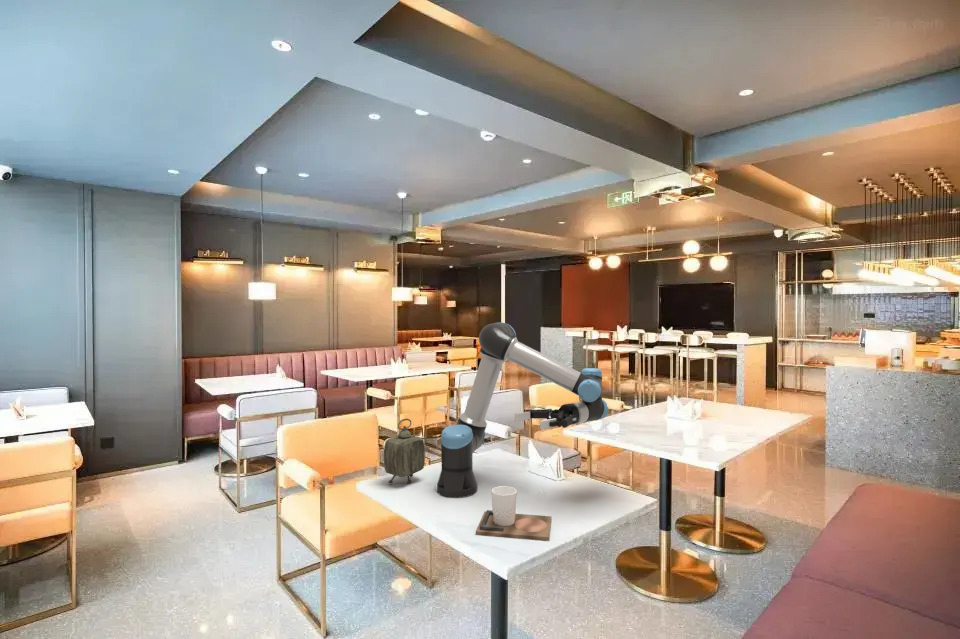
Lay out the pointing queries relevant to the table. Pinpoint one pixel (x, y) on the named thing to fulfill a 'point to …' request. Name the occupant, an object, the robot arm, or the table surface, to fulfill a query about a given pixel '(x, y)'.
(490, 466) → the table surface
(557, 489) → the table surface
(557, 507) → the table surface
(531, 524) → the walnut board
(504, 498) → the white cup
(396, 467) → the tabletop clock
